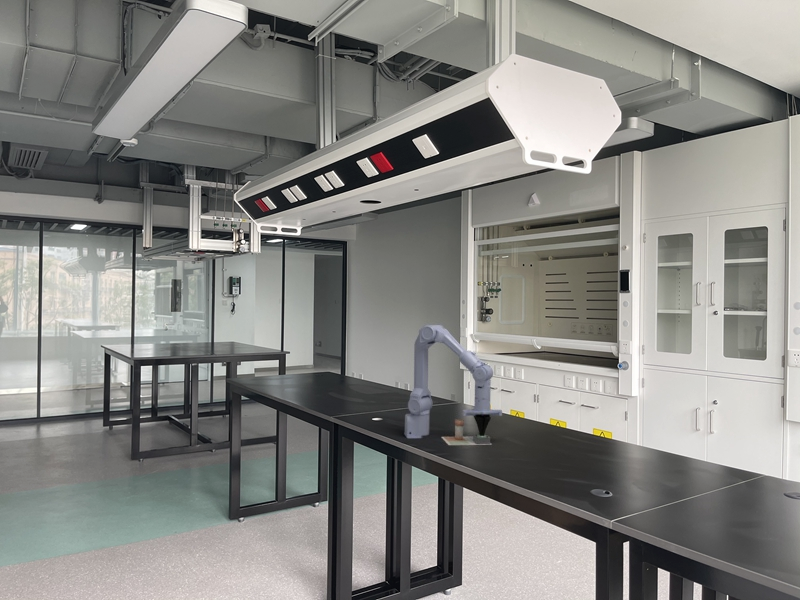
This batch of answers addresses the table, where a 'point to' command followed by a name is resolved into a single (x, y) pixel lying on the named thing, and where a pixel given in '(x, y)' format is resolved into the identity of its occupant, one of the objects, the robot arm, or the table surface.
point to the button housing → (481, 439)
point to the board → (461, 441)
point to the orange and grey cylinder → (459, 429)
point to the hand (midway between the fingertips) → (481, 435)
